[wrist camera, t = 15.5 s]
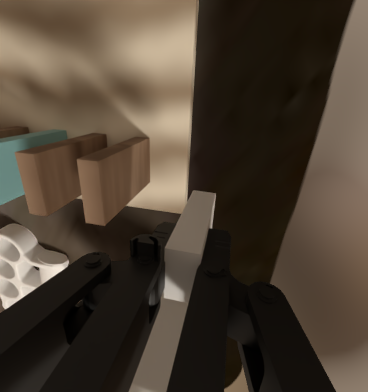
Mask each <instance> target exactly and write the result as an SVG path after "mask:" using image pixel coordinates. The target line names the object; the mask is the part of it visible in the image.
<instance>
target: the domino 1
mask: <svg viewBox="0 0 368 392" xmlns="http://www.w3.org/2000/svg"><path fill="white" fill-rule="evenodd" d="M66 139H67V132H66V130H57V129H52V130H46V131H41V132H35V133H29V134H23V135H18V136H12V137H6V138H0V205H2V204H4V203H6V202H8V201H11V200H13V199H15V198H17V197H20V196H22V195H24V194H25V192H24V188H23V184H22V180H21V176H20V172H19V168H18V164H17V160H16V156H15V153H14V152H17V151H21V150H25V149H29V148H33V147H38V146H42V145H46V144H50V143H54V142H58V141H62V140H66Z"/></svg>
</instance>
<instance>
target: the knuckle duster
mask: <svg viewBox="0 0 368 392" xmlns="http://www.w3.org/2000/svg"><path fill="white" fill-rule="evenodd" d="M68 264H69V260H68V258H67V256H66V255H65V254H62V253H58V252H55V251H49V250H46V249H44V248H43V247H42V246H41V245H39V243H38V241H37V239H36V237H35V236H34V235H33V233H32V232H31V231H30V230H28V229H27V228H26V227H24V226H22V225H19V224H14V223H13V224H9V225H7V226H5V227H3V228H1V229H0V297H1V299H2V303H3V304H2V306H3V307H4V308H5V309H7V308H8V307H10V306H11V305H13V304H14V303H16V302H17V301H19V300H20V299H21V298H23V297H24V296H26V295H27V294H29V293H30V292H32V291H33V290H34V289H36V288H37V287H39V286H40V285H42V284H43V283H45V282H46V281H48V280H49V279H50V278H52V277H53V276H55V275H56V274H58V273H59V272H61V271H62V270H63V269H65V268H66V267H68ZM34 266H36V267H39V271H38V270H36V269H35V268H34Z"/></svg>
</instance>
